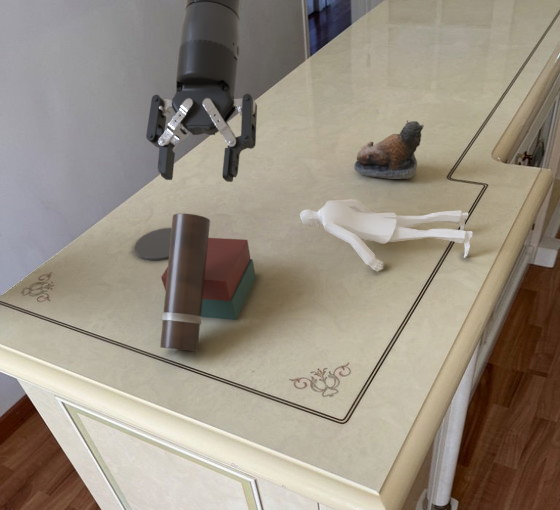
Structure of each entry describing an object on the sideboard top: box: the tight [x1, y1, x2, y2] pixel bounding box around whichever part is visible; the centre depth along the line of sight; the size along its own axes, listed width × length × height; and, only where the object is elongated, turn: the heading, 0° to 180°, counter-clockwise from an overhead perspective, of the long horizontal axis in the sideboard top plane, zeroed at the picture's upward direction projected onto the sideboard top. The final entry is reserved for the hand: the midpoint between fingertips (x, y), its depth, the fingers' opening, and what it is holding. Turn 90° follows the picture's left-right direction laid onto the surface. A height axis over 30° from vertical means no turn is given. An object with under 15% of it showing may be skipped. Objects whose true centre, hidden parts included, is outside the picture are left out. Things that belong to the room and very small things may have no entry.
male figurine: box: [299, 198, 473, 272], centre depth 88 cm, size 14×6×25 cm
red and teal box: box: [160, 237, 256, 321], centre depth 84 cm, size 10×10×7 cm
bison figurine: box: [353, 120, 425, 180], centre depth 103 cm, size 12×7×10 cm, turn 63°
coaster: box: [134, 227, 172, 262], centre depth 97 cm, size 9×9×1 cm
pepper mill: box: [159, 213, 211, 352], centre depth 76 cm, size 15×5×15 cm, turn 166°
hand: (196, 179), depth 76 cm, fingers open, 8 cm apart
